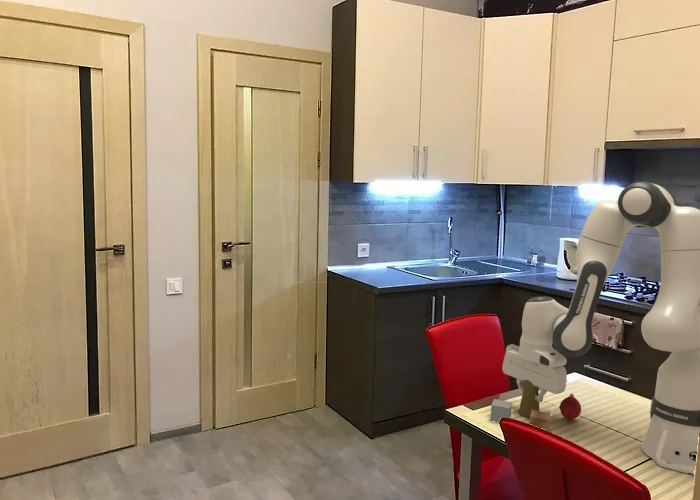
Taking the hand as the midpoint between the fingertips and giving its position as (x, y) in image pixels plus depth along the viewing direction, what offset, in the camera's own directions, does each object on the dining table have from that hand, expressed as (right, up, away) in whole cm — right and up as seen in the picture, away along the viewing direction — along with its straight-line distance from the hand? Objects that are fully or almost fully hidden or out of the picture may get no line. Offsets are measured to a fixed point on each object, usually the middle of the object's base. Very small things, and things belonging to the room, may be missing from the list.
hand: (530, 397), depth 173 cm
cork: (0, -5, +1) cm, 5 cm away
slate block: (-10, -5, -4) cm, 12 cm away
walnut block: (-1, -7, -11) cm, 13 cm away
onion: (+10, -6, -2) cm, 12 cm away
